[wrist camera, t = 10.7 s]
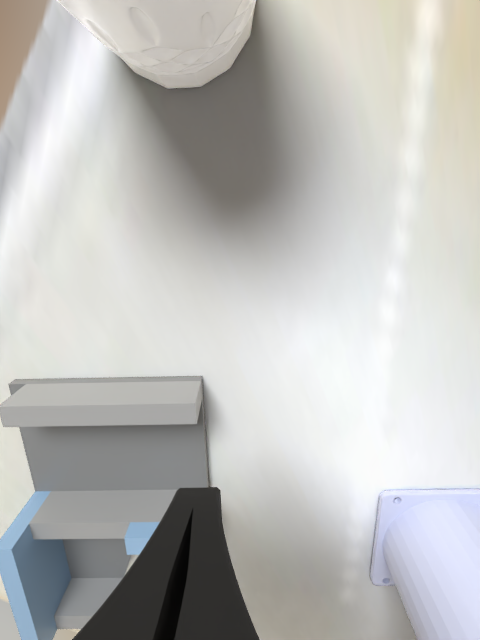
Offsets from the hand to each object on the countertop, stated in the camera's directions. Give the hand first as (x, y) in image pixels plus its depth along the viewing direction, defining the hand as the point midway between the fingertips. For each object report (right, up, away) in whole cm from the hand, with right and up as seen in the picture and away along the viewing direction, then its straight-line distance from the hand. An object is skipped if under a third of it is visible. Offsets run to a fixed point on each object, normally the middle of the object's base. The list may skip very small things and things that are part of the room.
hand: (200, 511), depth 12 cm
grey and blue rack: (-6, -5, +11) cm, 14 cm away
